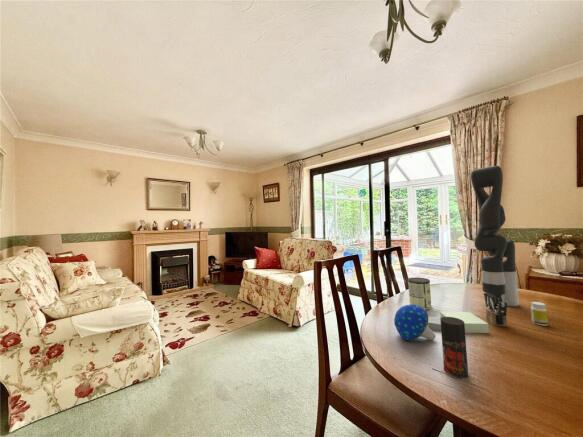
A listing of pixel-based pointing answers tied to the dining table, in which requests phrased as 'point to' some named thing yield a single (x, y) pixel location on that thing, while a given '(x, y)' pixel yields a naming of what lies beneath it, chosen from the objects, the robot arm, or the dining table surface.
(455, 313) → the sage block
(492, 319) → the walnut cube
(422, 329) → the mushroom
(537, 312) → the supplement bottle
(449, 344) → the deodorant
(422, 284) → the coffee can
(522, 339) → the dining table surface
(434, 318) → the slate block
